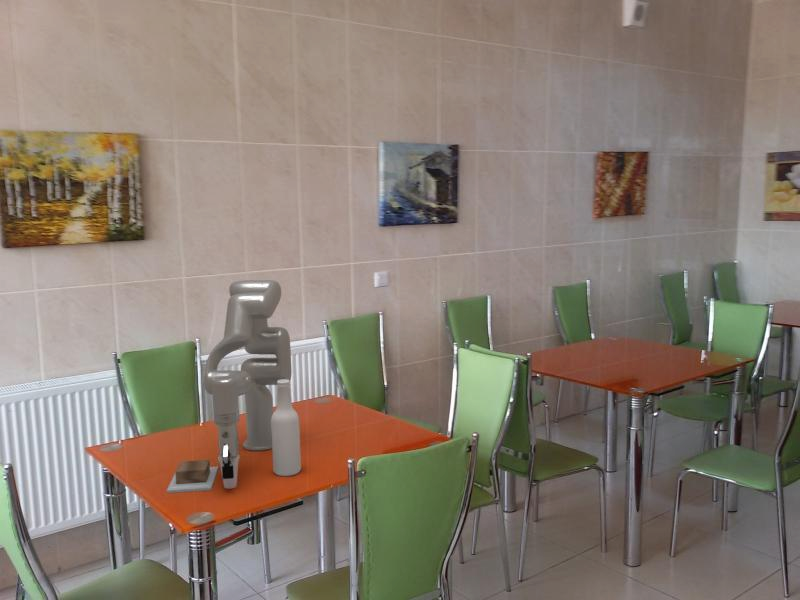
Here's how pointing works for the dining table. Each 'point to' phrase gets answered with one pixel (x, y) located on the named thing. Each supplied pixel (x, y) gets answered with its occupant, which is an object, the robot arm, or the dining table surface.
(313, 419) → the dining table surface
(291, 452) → the alcohol
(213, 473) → the base
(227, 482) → the smoothie
